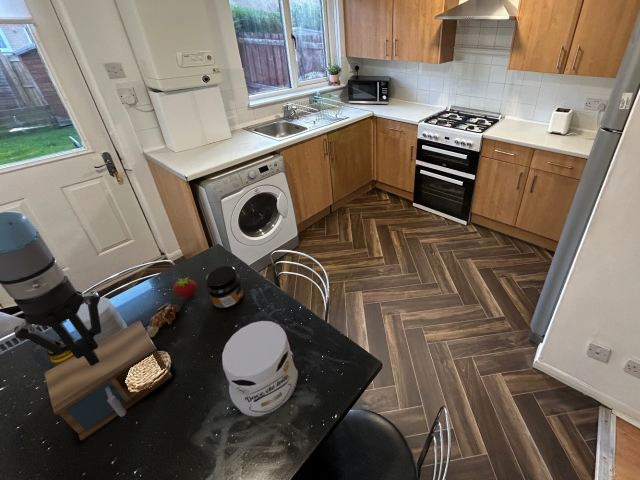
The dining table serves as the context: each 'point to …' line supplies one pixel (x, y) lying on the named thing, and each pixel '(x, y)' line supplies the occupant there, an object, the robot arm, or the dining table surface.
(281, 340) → the doce de leite tub
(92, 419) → the glass door
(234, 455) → the dining table surface
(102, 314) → the supplement tub
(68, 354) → the condiment
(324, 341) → the dining table surface
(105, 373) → the cabinet
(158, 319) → the pastry
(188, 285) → the strawberry
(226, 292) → the supplement container
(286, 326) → the dining table surface
